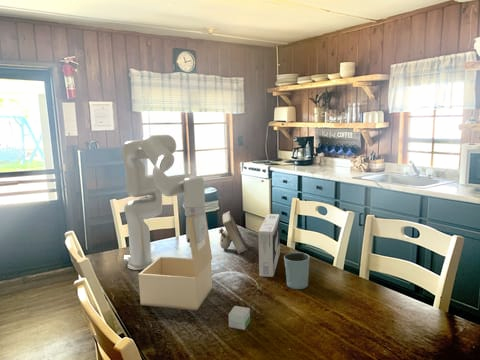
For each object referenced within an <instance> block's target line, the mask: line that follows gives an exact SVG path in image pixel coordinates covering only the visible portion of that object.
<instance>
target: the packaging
mask: <svg viewBox="0 0 480 360" xmlns="http://www.w3.org/2000/svg"><path fill="white" fill-rule="evenodd" d="M280 229H281V227H280V214H279V213H267V214H266V217H265V218H264V220H263V222H262V224H261V226H260V228H259V229H258V232H257V235H258V237H257V238H258V269H259V270H258V275H259V277H265V278H266V277H268V278H274V275H275V272H276V269H277V265H278V262H279V257H280V254H281V244H280V243H281V241H280V240H281V237H280V233H281V232H280V231H281V230H280Z"/></svg>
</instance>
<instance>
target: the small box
mask: <svg viewBox="0 0 480 360" xmlns="http://www.w3.org/2000/svg"><path fill="white" fill-rule="evenodd" d="M250 312H251V308H250V307H245V306H240V305H239V306H238V305H234V306H233V307H232V309H231V311H229V313H228V327H229V328H232V329H233V328H234V329H238V330H243V331H244V330H246V328H247V327H248V325H249V323H250V321H251V313H250Z"/></svg>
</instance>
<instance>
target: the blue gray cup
mask: <svg viewBox="0 0 480 360" xmlns="http://www.w3.org/2000/svg"><path fill="white" fill-rule="evenodd" d="M310 258H311V256H310V255H309V254H307V253H304V252H299V251H293V252H288V253H286V254H285V255H283V261H284V267H285V276H286V277H285V278H286V280H285V281H286V286H287V287H289V288H290V289H294V290H303V289H306V288H308V285H309V274H310V273H309V272H310V269H309V268H310V261H311V259H310Z"/></svg>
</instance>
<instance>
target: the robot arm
mask: <svg viewBox="0 0 480 360" xmlns="http://www.w3.org/2000/svg"><path fill="white" fill-rule="evenodd" d="M176 149H177V143H176V140H175V139H174V137H173V136H172V135H170V134H156V135H155V134H154V135H148V136H146V137H143V138H142V139H135V140H128V141H125V142H124V143H123V144H122V146H121V152H120V153H121V157H122V162H123V164H124V167H125V168H124V169H125V182H126V183H125V185H126V193H127V195H128V196H129V197H131V198H138V199H132V200H130V201H128V202H127V203H125V206H124V215H125V220H126V223H127V232H128V245H129V255H127V254H125V255H124V256H123V261H124V262H128V263H127V268H128V269H130V270H133V271H143V270H144V269H146V268H147V267H148V266H149V265H150V264H152V263H153V262H154V261H155V259H153V258H152V249H151V236H150V233H151V232H150V227H149V225H148V224H147V223H146V222H145V220H146V219H150V218H155V217H158V216H160V215H161V214H162V212H163V196H165V197H176V196H181V195H183V203H184V215H185V216H186V218H185V237H186V242H187V243H188V244H190V239H189V233H188V226H187V220H186V219H188V218H189V217H191V216H193V227H194V234H195V241H196V243H200V242H201V241H202V240H204V239H205V238H206V236H207V226H208V225H207V226H206V219H207V216H206V217H205V212H206V198H205V197H206V194H205V193H206V192H205V180H204V177H202V176H198V175H197V176H196V175H194V174H192V173H183V174H175V175H166V173H165V172H166V171H168V170H170V169H171V168H172V166H173V165H174V163H175V157H174V153H175V152H176ZM146 159H147V160H149V161H150V163H151V164H152V166H153V169H152V174H148V175H147V174H146V168H145V167H146V166H145V163H143V162H142V160H146ZM147 196H149V197H147ZM142 197H146V198H142ZM189 248H191V246H190V245H189Z"/></svg>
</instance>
